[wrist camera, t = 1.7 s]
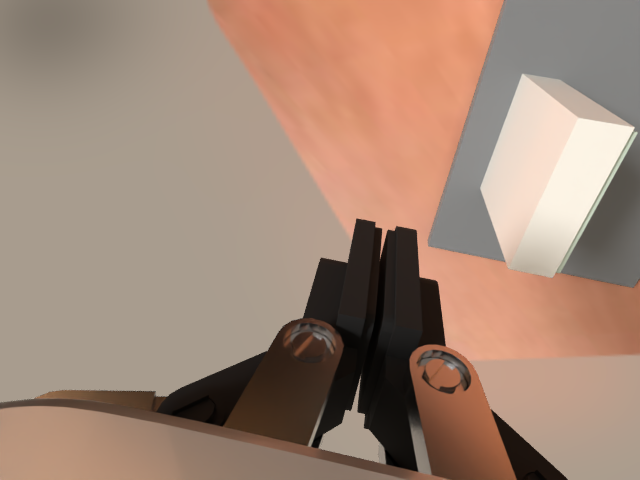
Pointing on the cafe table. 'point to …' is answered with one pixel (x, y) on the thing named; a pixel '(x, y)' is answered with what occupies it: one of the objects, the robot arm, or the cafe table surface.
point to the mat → (587, 78)
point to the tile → (550, 172)
